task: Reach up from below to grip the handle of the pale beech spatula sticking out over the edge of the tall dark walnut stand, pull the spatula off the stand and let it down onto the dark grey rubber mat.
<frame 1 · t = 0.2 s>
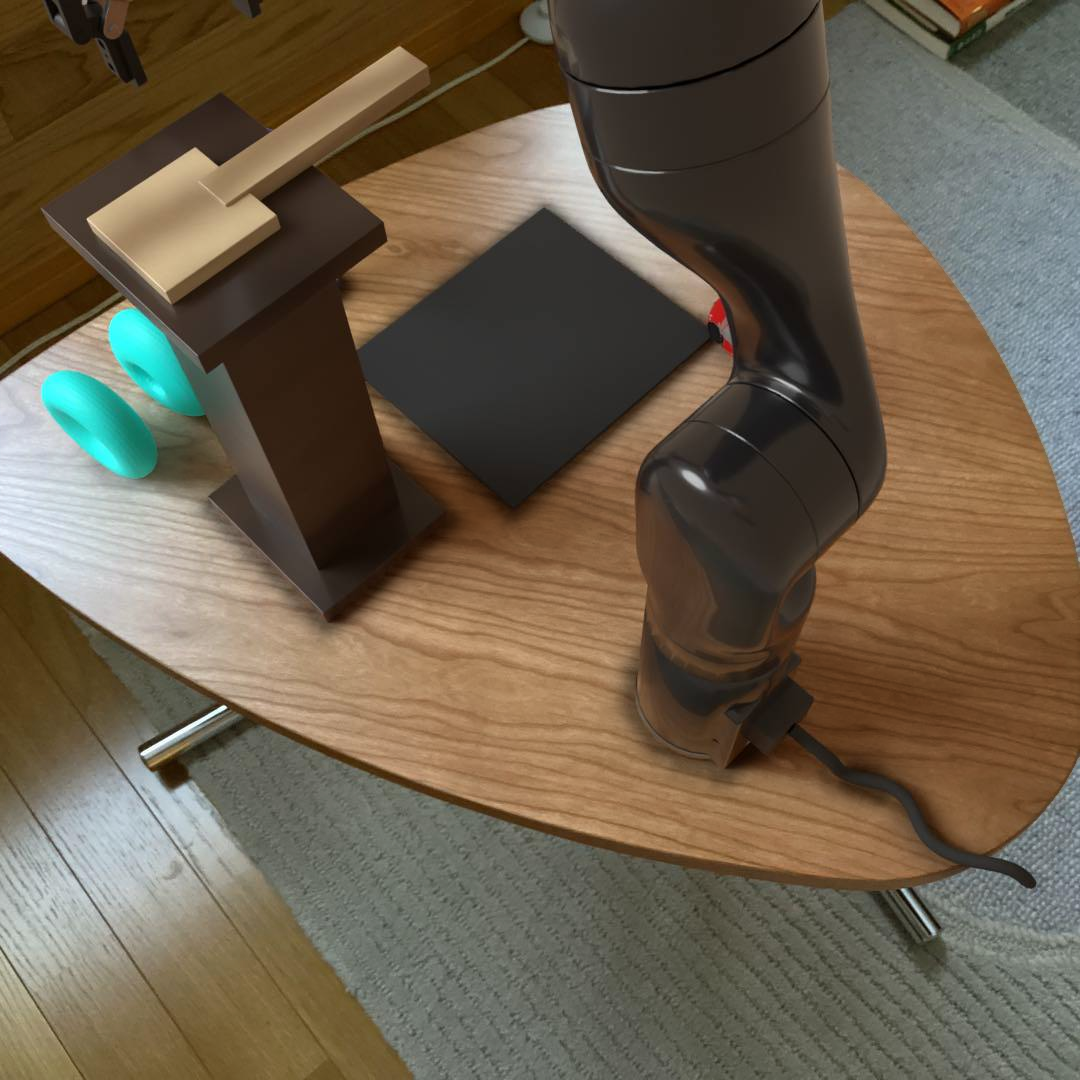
hand: (192, 44, 71), 29 cm above the table, tool pointing down, fingers open, 8 cm apart
spatula: (255, 183, 62), point 32 cm above the table, touching stand
toy lamp: (312, 291, 100), on the table
mat: (530, 349, 96), on the table
stand: (329, 513, 89), on the table
race car: (769, 363, 94), on the table, touching mat
donuts: (155, 431, 93), on the table
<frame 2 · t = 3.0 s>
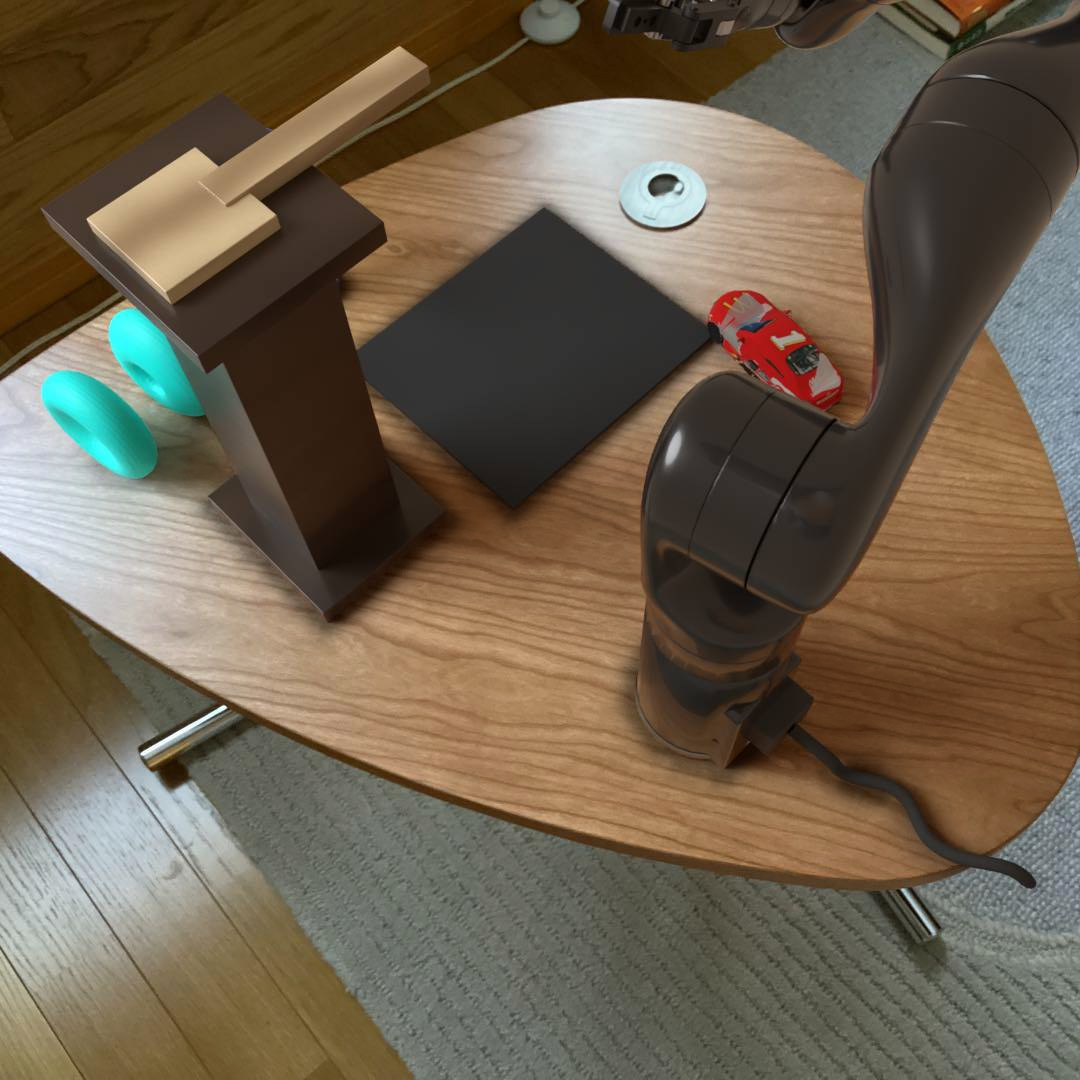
nothing on the table moved.
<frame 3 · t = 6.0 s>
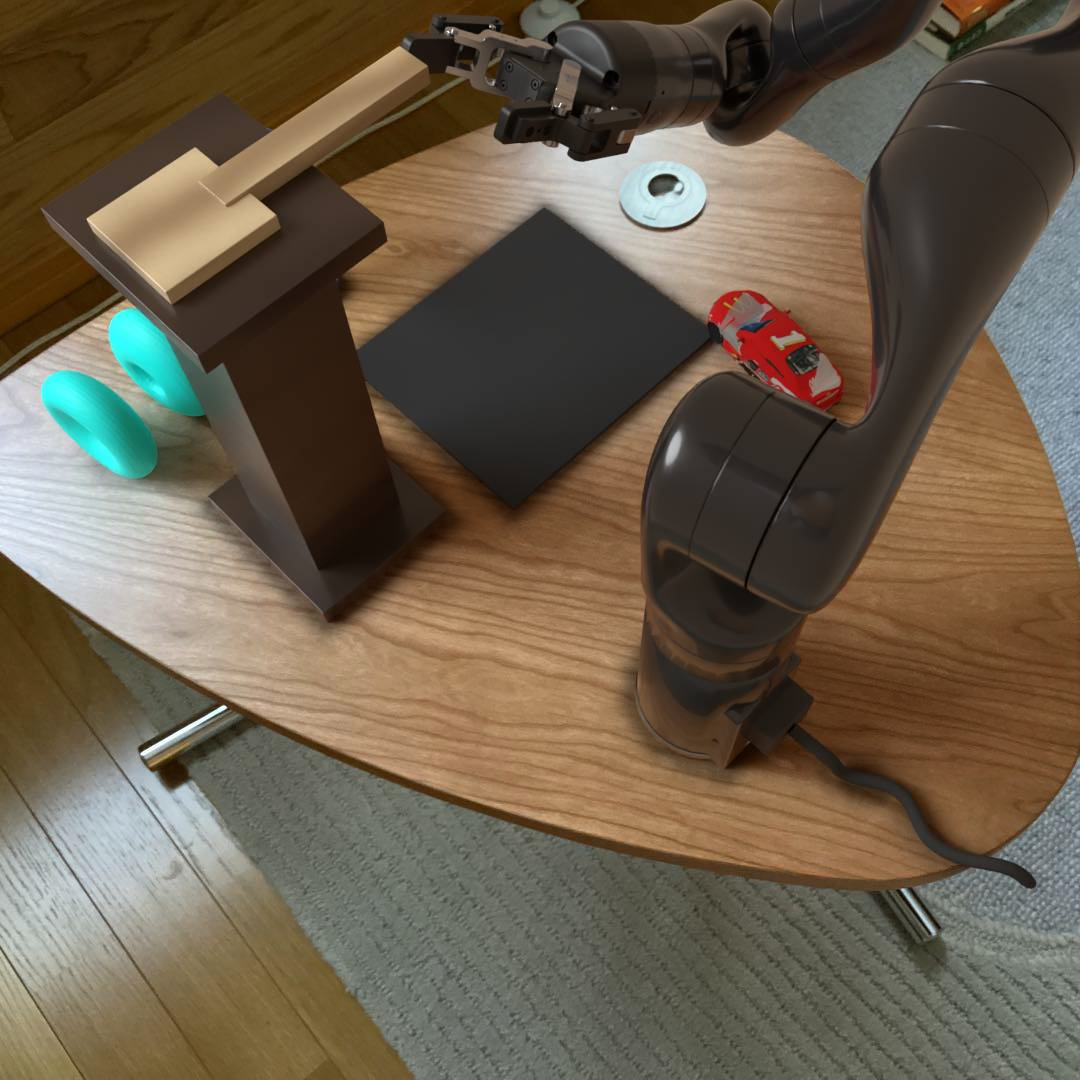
hand: (451, 88, 68), 29 cm above the table, tool pointing upward, fingers open, 8 cm apart
nothing on the table moved.
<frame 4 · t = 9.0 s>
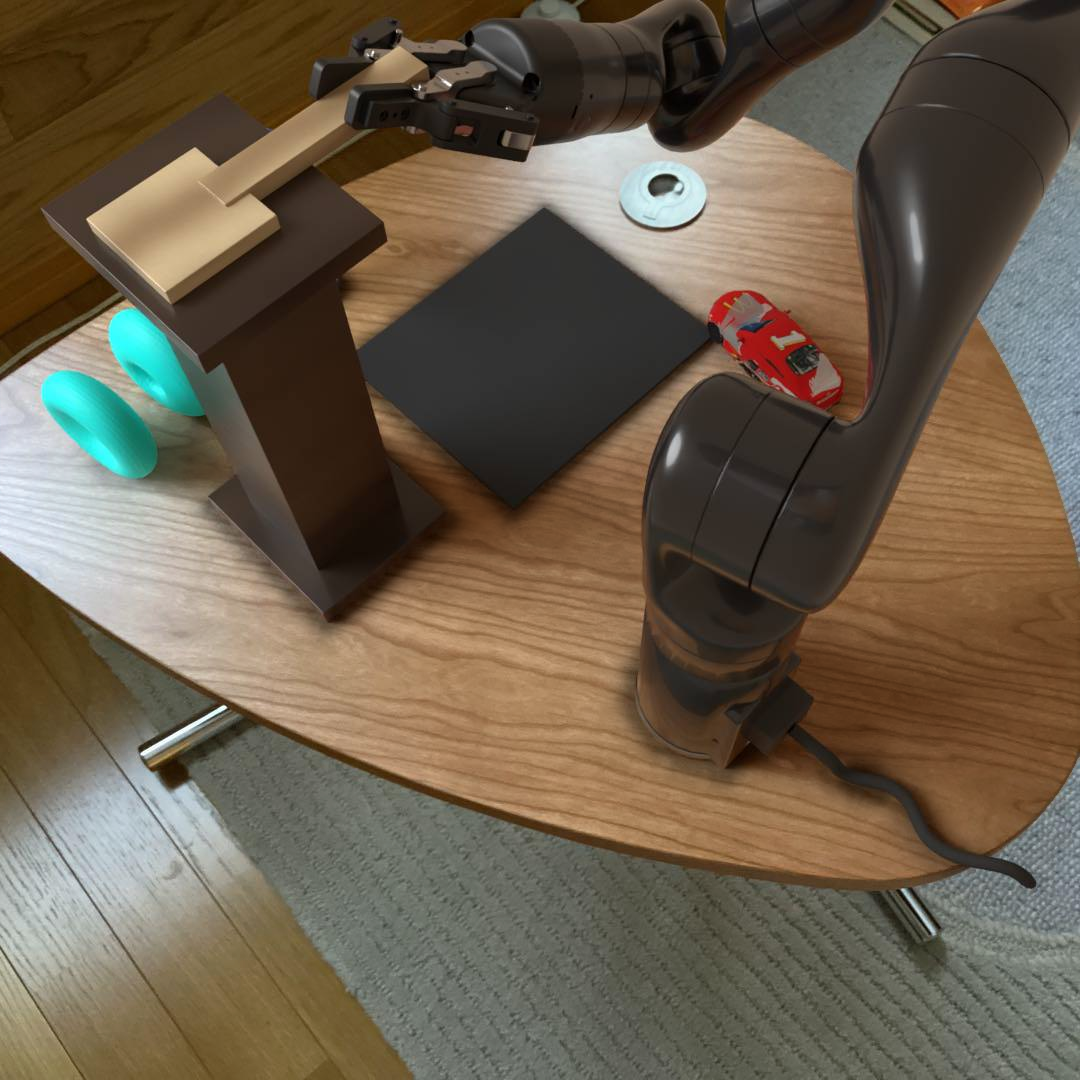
hand: (334, 94, 62), 34 cm above the table, tool pointing upward, fingers closed on spatula, 2 cm apart
spatula: (255, 183, 62), point 32 cm above the table, touching gripper, stand
everything else where it was.
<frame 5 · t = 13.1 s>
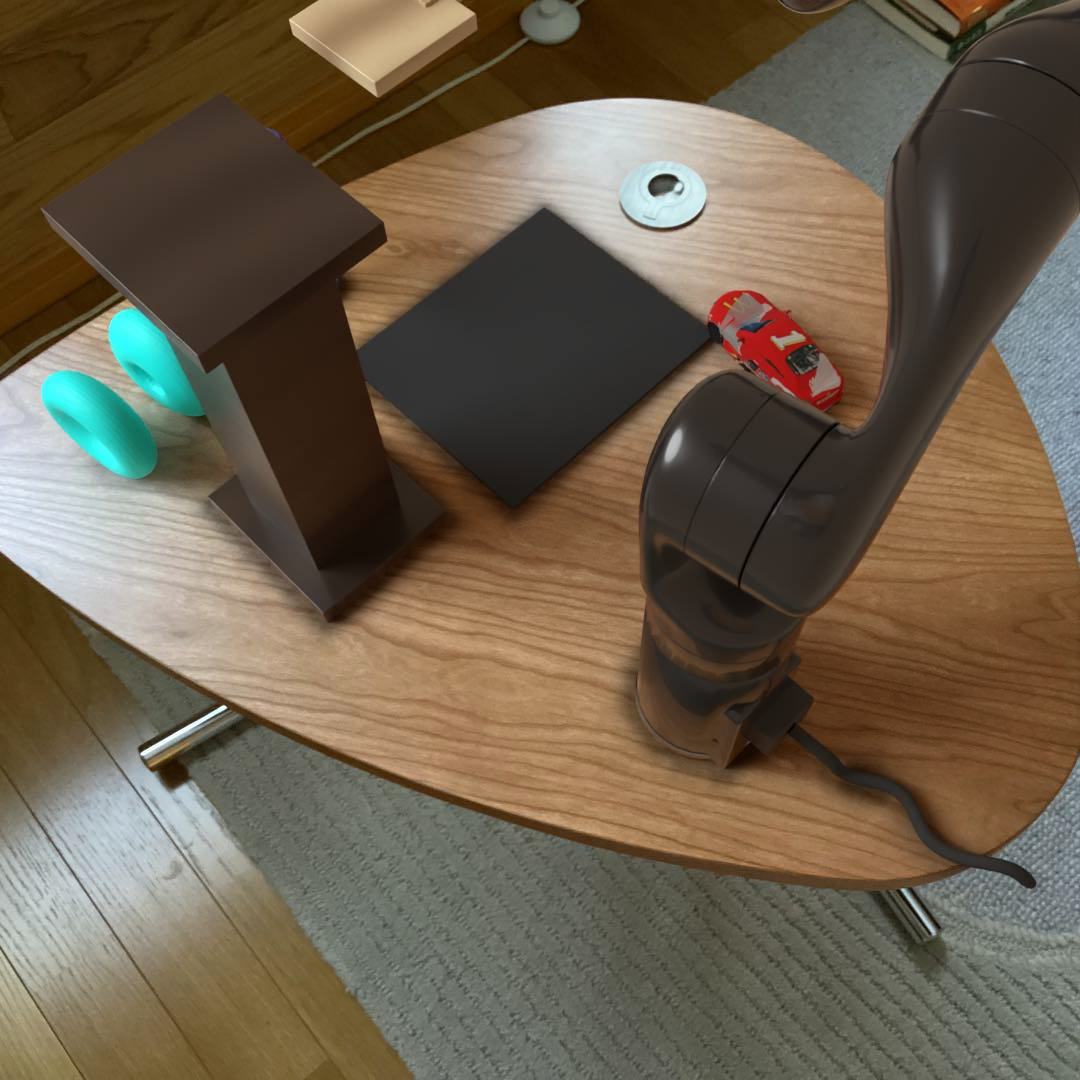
when the fingers open (22 cm above the table, at t = 17.6 s): spatula drops 20 cm, resting on mat.
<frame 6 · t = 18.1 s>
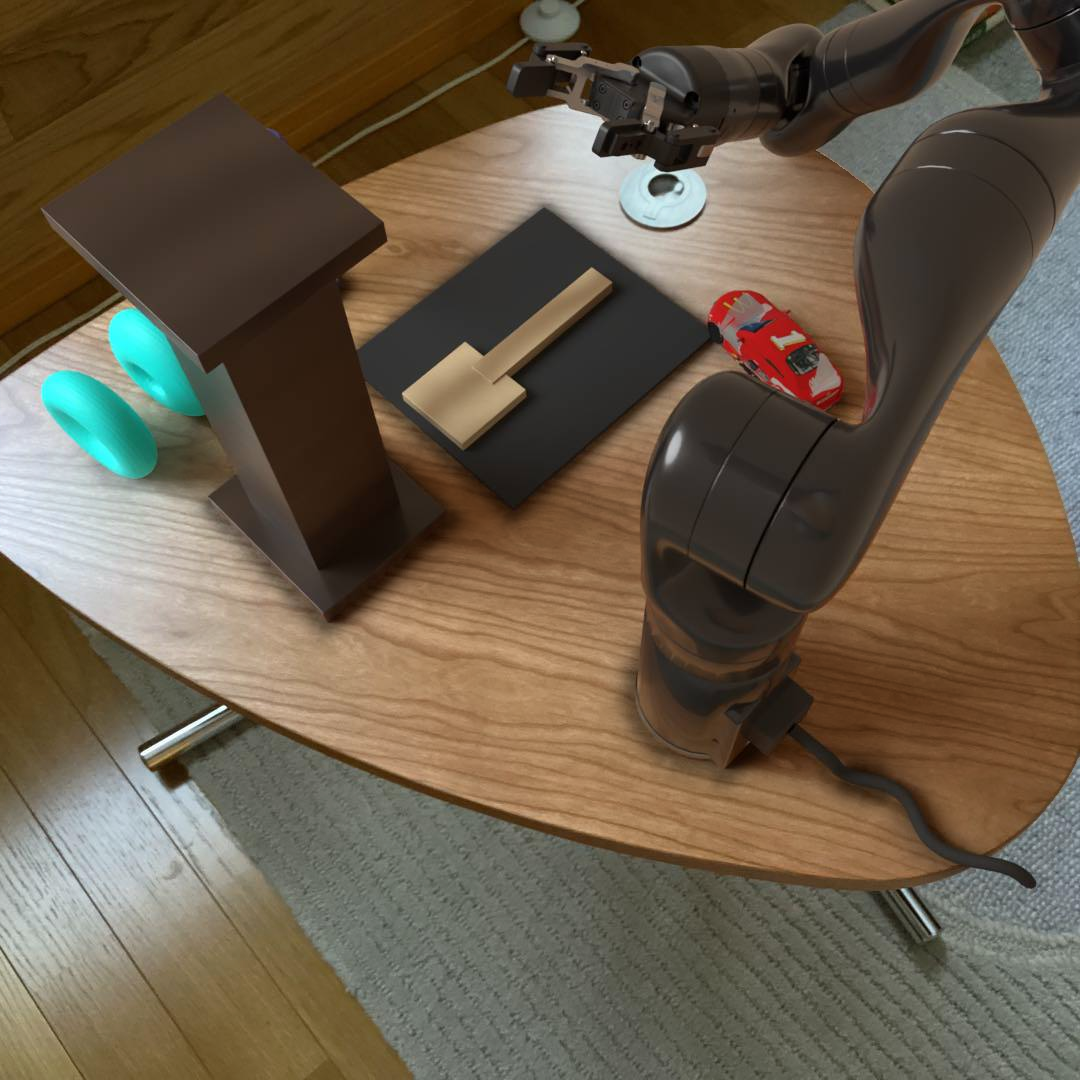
hand: (555, 109, 77), 22 cm above the table, tool pointing upward, fingers open, 7 cm apart
spatula: (504, 365, 94), resting on mat
everything else where it was.
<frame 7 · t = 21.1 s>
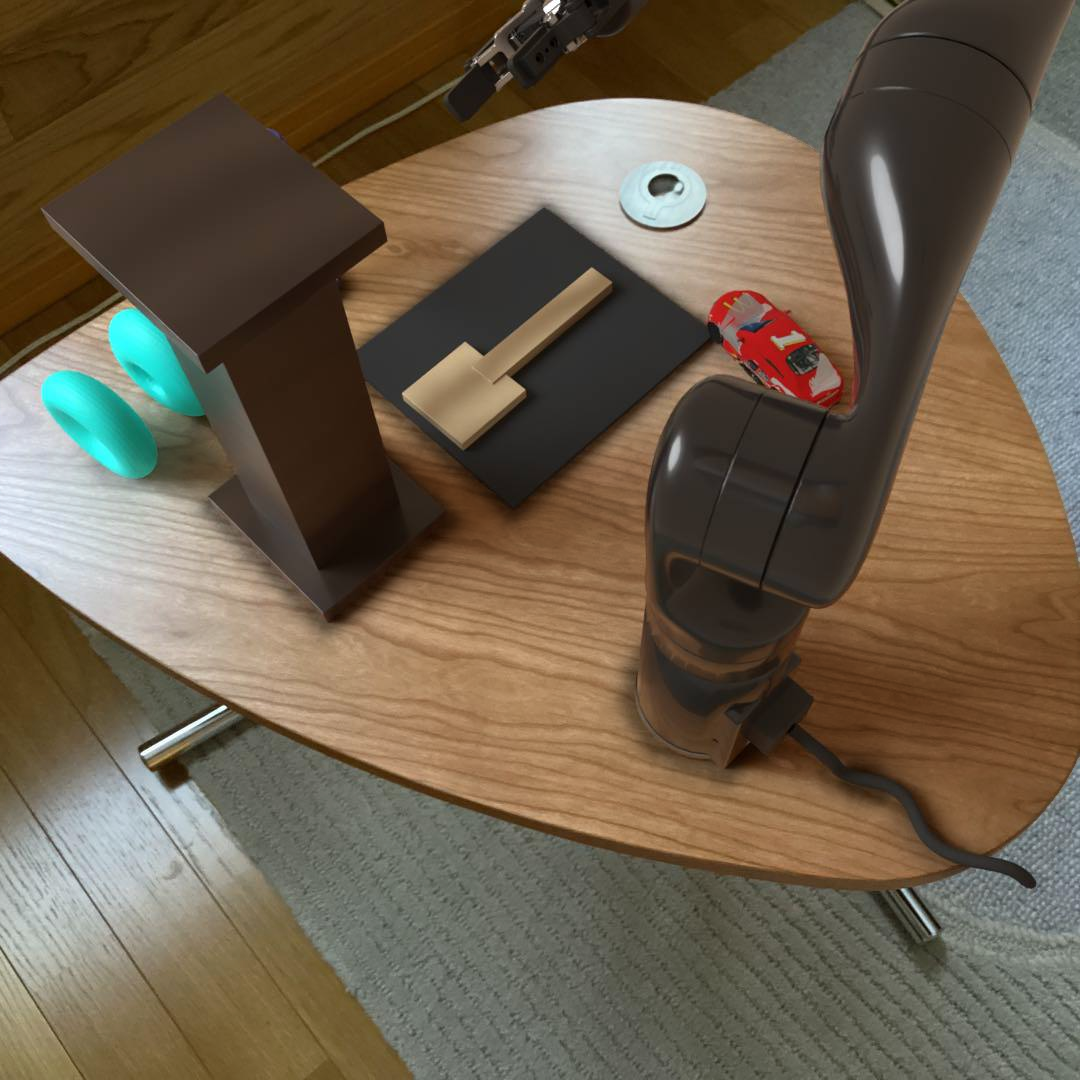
hand: (484, 95, 77), 23 cm above the table, tool horizontal, fingers open, 8 cm apart
nothing on the table moved.
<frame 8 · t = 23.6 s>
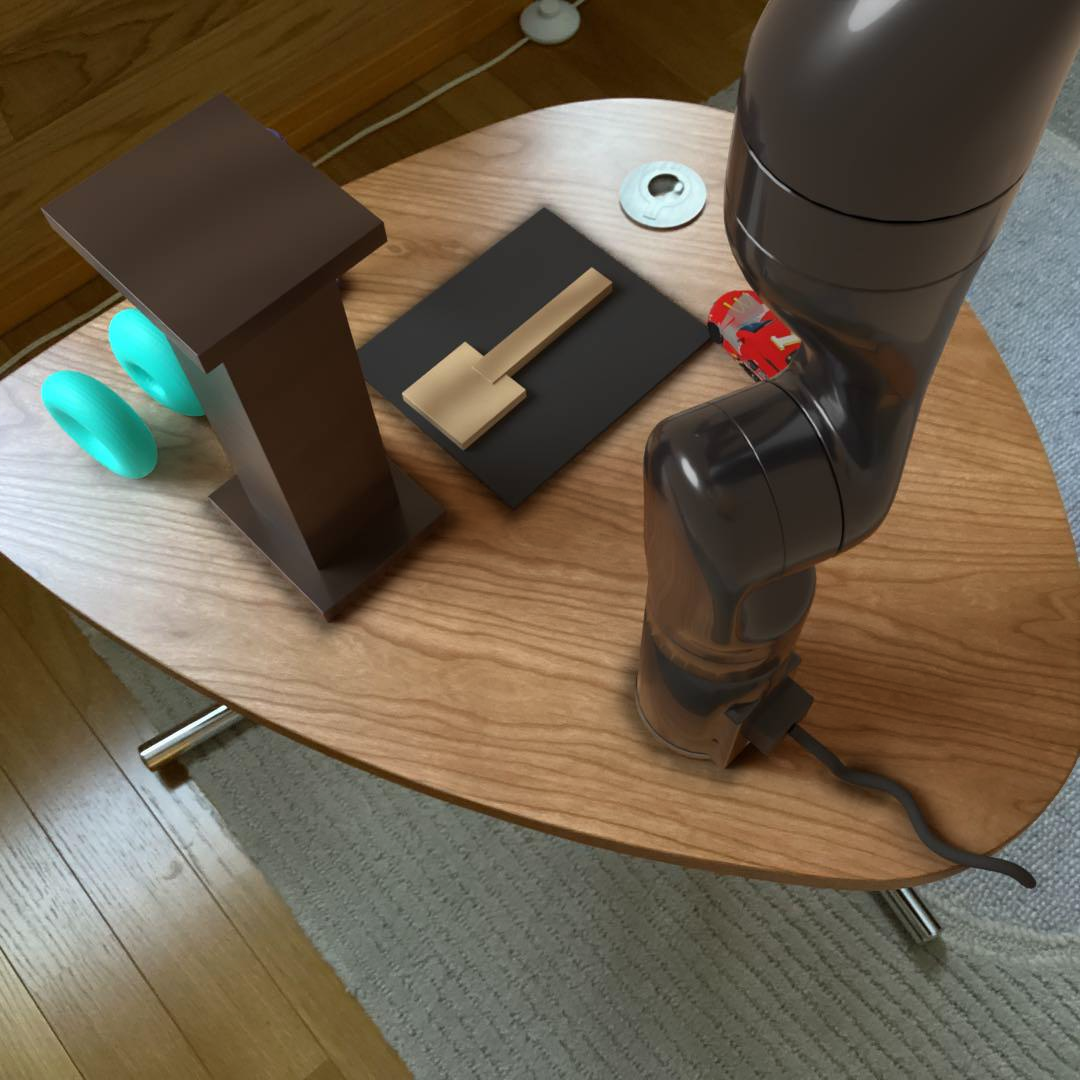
nothing on the table moved.
at the end: spatula inside the target area on the mat (2.8 cm from its centre), point 0.5 cm above the mat's base; spatula touching mat; the gripper is holding nothing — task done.
